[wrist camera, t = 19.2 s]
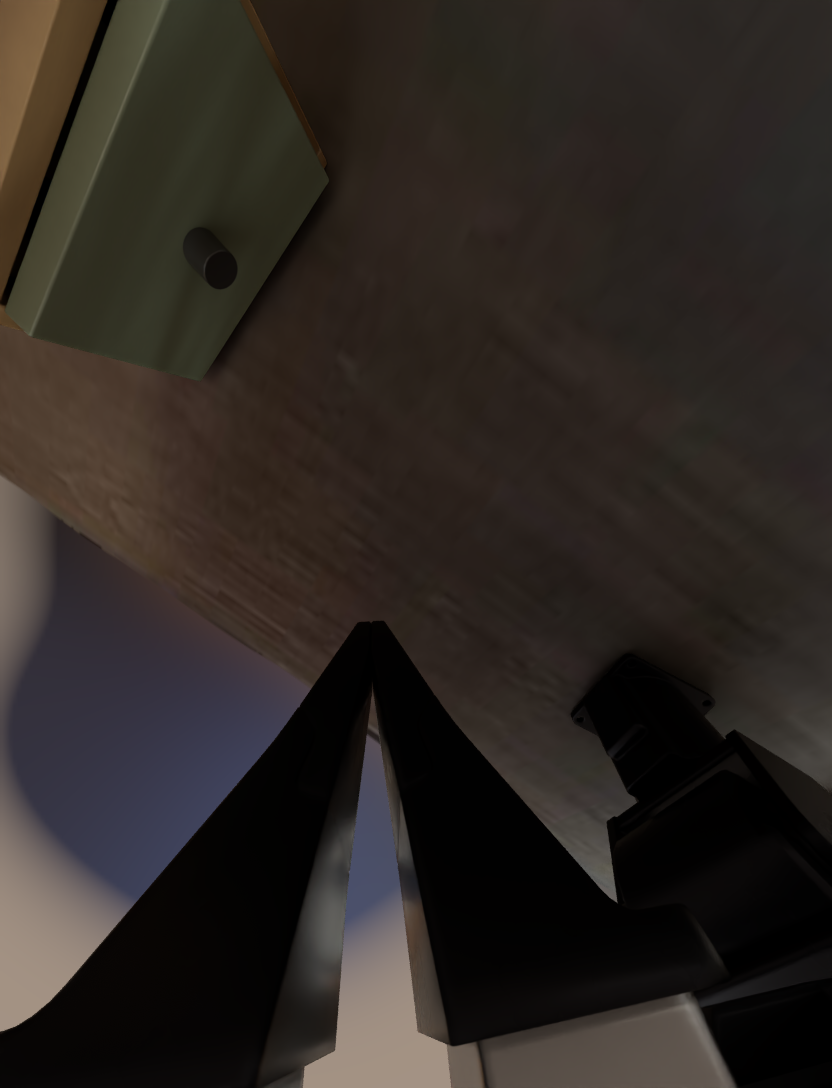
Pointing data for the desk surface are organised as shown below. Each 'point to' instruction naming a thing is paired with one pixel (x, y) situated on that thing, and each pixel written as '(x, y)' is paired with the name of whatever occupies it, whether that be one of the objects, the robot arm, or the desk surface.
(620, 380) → the desk surface
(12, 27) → the cabinet
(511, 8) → the desk surface
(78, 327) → the drawer
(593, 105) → the desk surface
